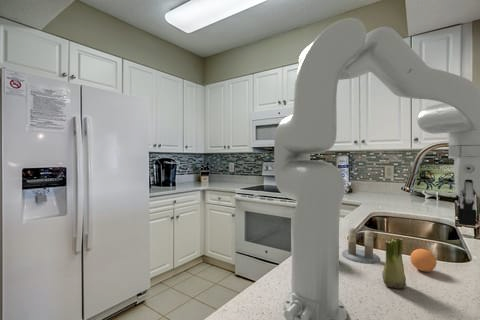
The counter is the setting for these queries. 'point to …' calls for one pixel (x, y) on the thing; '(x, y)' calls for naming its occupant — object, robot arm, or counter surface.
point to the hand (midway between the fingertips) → (466, 222)
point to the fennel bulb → (394, 265)
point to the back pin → (352, 241)
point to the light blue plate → (360, 256)
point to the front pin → (369, 244)
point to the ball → (423, 260)
